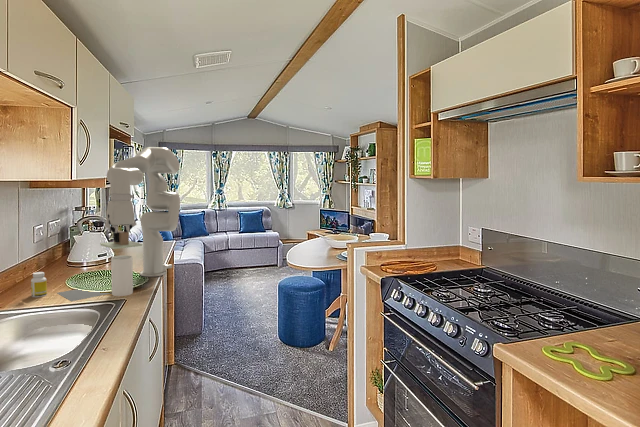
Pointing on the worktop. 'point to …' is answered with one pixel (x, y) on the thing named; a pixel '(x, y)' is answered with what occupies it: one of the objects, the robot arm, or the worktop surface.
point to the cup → (122, 275)
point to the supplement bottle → (38, 285)
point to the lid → (121, 242)
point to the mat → (79, 294)
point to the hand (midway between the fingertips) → (121, 241)
